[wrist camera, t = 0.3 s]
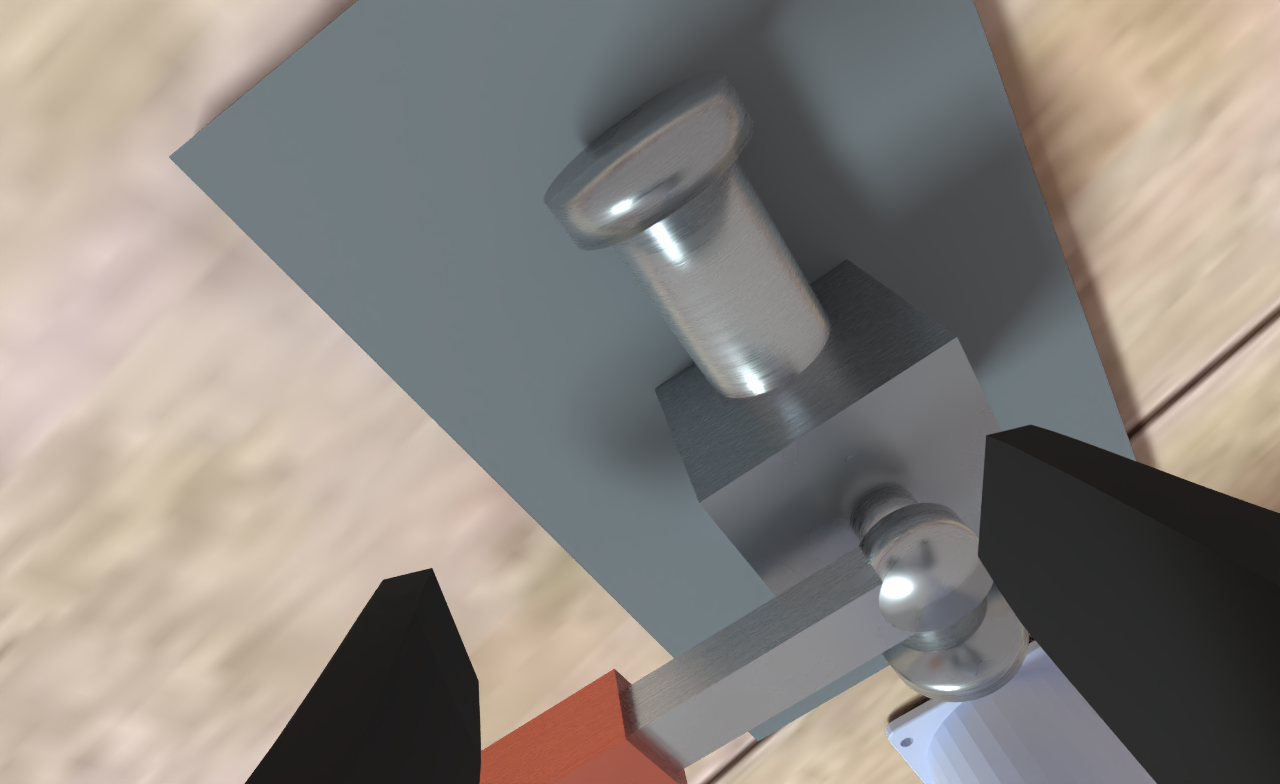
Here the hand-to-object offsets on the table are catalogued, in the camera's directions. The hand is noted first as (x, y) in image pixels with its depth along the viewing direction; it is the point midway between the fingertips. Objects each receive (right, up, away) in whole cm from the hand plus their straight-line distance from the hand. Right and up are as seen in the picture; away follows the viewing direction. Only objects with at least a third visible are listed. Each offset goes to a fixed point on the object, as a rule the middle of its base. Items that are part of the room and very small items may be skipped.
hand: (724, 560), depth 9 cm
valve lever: (0, -3, +5) cm, 6 cm away
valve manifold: (+3, +2, +10) cm, 11 cm away
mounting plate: (+2, +3, +10) cm, 11 cm away
